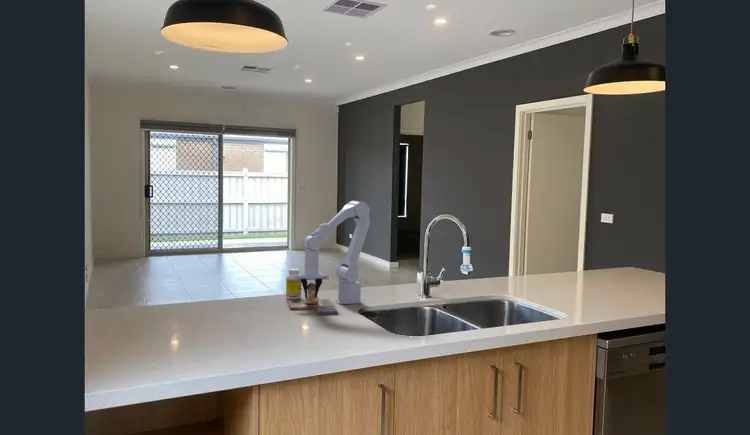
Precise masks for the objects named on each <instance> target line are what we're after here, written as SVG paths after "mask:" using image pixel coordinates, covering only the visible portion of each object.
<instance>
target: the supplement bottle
mask: <svg viewBox="0 0 750 435" xmlns="http://www.w3.org/2000/svg"><path fill="white" fill-rule="evenodd" d="M294 275H300V268H289V269H288V274H287V275H286V278H285V279H286V281H285V298H286V299H287V300H301V298H302V283H301V280H294Z"/></svg>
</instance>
